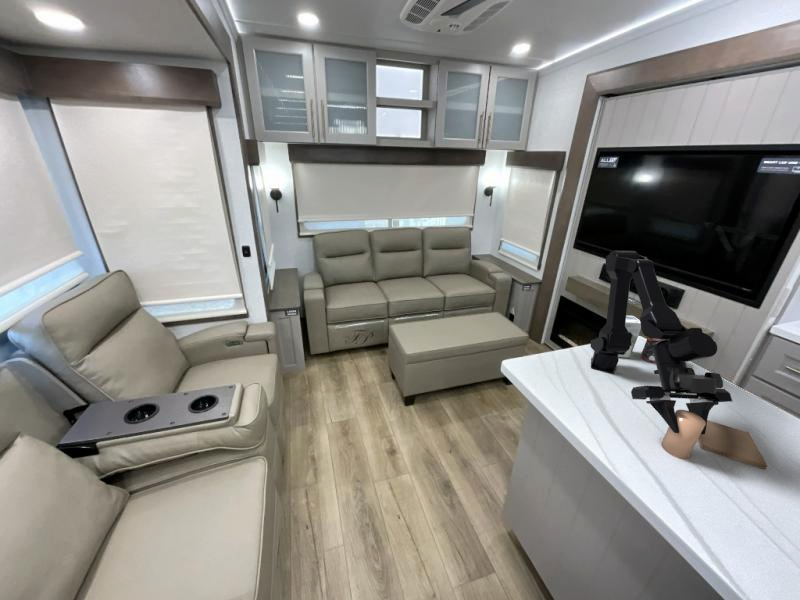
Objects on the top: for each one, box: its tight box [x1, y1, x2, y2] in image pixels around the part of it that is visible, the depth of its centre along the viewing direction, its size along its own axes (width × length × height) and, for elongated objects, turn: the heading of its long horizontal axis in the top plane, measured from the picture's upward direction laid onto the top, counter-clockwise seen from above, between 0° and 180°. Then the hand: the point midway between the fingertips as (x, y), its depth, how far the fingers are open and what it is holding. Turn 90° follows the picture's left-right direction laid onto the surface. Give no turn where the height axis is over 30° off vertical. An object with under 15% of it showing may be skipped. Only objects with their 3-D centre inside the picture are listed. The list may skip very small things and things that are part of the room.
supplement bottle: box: [640, 337, 669, 364], centre depth 107 cm, size 6×6×11 cm
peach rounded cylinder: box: [660, 409, 706, 460], centre depth 72 cm, size 5×5×10 cm
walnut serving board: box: [697, 419, 768, 470], centre depth 76 cm, size 11×11×1 cm
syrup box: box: [618, 315, 642, 359], centre depth 109 cm, size 6×6×14 cm
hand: (689, 433), depth 71 cm, fingers closed on peach rounded cylinder, 5 cm apart
